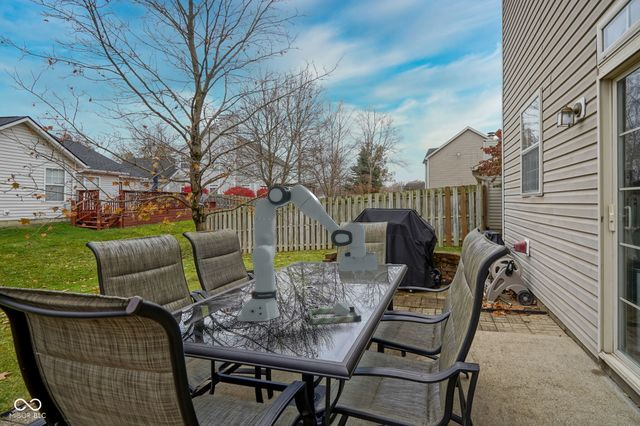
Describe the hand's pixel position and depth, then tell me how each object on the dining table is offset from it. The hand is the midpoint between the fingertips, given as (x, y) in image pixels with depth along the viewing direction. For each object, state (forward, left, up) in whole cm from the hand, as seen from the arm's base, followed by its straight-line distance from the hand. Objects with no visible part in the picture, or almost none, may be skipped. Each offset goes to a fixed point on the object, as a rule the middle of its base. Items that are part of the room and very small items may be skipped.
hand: (358, 278), depth 184 cm
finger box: (-14, 0, -19) cm, 24 cm away
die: (-10, 0, -19) cm, 22 cm away
